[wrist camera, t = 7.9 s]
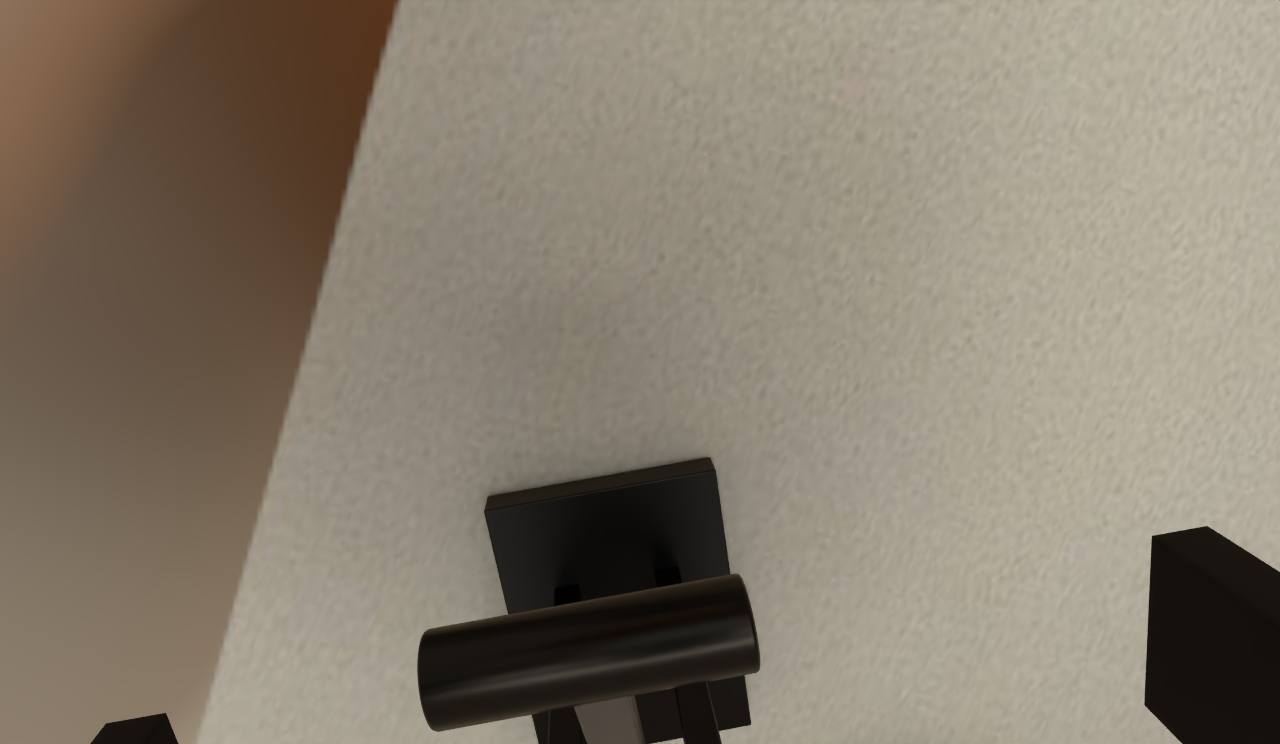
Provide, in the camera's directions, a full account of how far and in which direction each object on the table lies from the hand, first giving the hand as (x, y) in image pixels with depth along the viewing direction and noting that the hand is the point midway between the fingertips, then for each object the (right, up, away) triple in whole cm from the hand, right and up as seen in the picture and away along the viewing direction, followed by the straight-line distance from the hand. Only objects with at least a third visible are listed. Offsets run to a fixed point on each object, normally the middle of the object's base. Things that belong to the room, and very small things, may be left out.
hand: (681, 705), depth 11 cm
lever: (-1, -4, +9) cm, 10 cm away
